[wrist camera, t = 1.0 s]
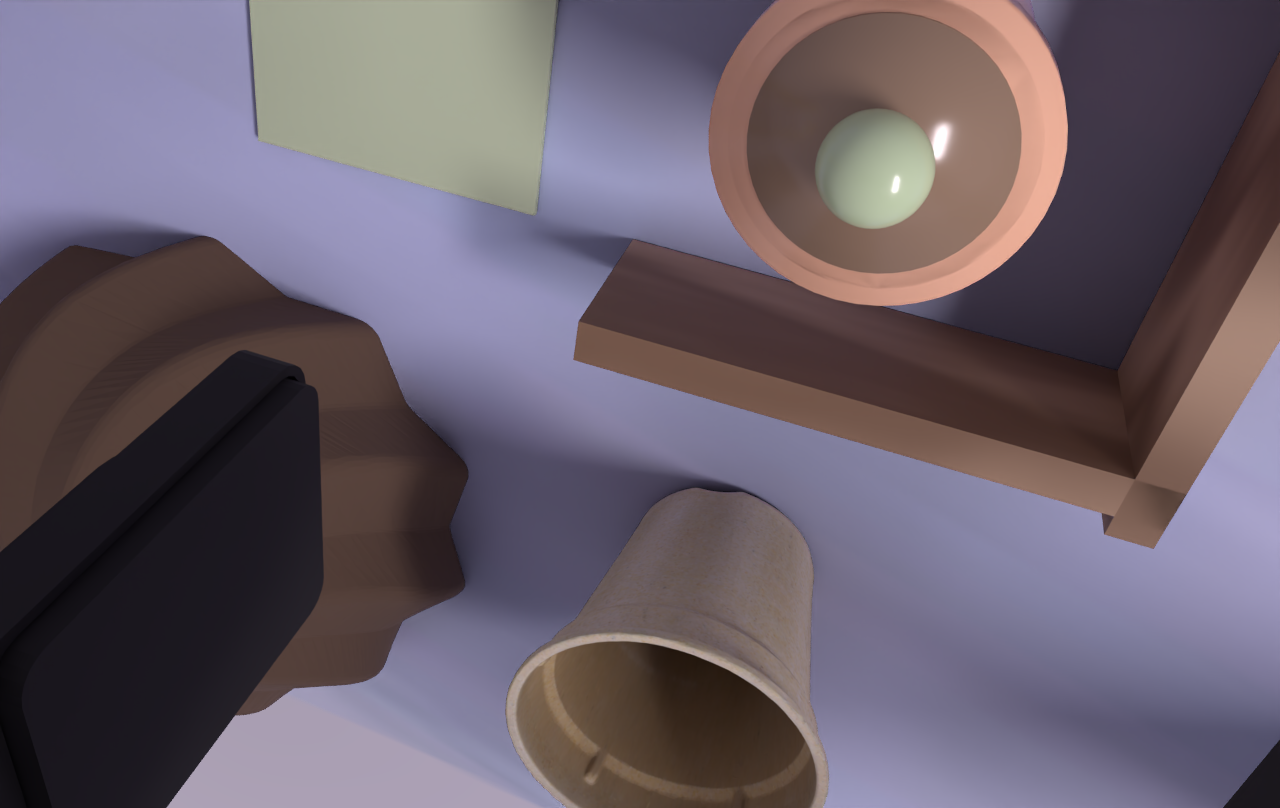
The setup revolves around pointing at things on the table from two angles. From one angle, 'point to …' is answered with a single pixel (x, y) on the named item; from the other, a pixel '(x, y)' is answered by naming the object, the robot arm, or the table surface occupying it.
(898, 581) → the table surface
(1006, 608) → the table surface
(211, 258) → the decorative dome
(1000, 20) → the seedling pot
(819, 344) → the brown wooden corner frame
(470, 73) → the green mat
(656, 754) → the flower pot
